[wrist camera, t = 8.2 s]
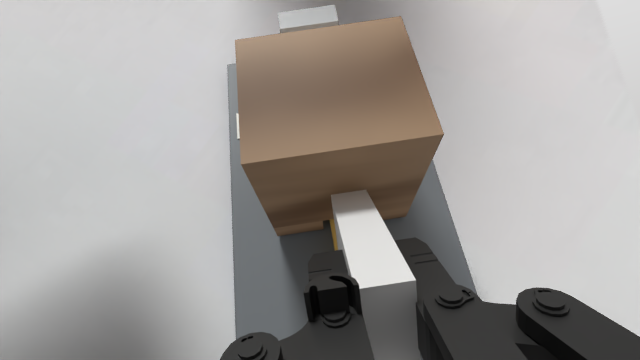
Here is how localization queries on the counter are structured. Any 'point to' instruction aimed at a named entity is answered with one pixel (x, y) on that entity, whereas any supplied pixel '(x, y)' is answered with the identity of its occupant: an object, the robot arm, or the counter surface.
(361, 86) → the cardboard box
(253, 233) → the sliding block track
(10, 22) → the counter surface
